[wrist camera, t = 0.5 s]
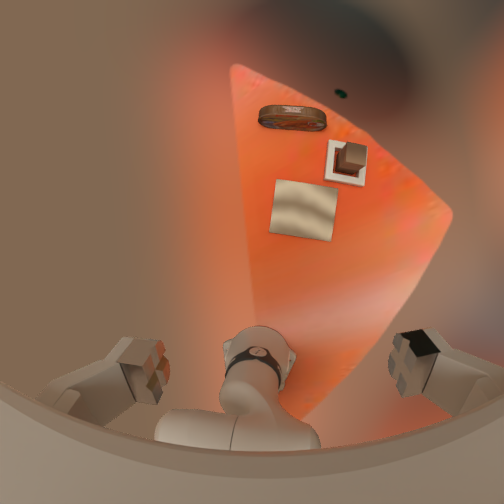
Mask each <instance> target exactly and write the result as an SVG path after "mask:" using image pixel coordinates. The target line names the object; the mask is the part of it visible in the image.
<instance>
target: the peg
mask: <svg viewBox="0 0 504 504" xmlns="http://www.w3.org/2000/svg"><path fill="white" fill-rule="evenodd" d="M366 156H367V146H365V145H360V144H356V143H351V142H347V143H346V144H345V145H344V147H343V148H342V149H341V150H340V152H339V153H338V154H337V158H336V168H335V172H341V173H346V174H351V175H352V174H354V173H355V172H357V171H358V170H360V169H361V168H363V167H365V166H366Z"/></svg>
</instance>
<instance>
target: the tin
mask: <svg viewBox="0 0 504 504" xmlns="http://www.w3.org/2000/svg"><path fill="white" fill-rule="evenodd" d="M258 122H259V123H260V124H261V125H263V126H265V127H268V128H273V129H287V130H301V131H319V130H322V129H324V128H326V126H327V123H326V114H325V113H324V112H323V111H321V110H319V109H316V108H312V107H304V106H290V105H269V106H265V107H263V108H261V109H260V111H259V118H258Z"/></svg>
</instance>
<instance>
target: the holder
mask: <svg viewBox="0 0 504 504" xmlns="http://www.w3.org/2000/svg"><path fill="white" fill-rule="evenodd" d="M345 144H346V143H345V142H339V141H334V140H329V141H328V143H327V151H326V161H325V170H324V179H323V180H325V181H331V182H337V183H342V184H347V185H353V186H358V187H363V186H364V184H365V174H366V166H365V167H363V168H361V169H360V170H358V171H357V172H356V177H351V176H346V175H341V174H335V173H333V163H334V153H335V151H340V150H341V149H342V148H343V147H344V145H345ZM367 149H368V147H367ZM366 163H367V156H366Z"/></svg>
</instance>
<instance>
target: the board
mask: <svg viewBox="0 0 504 504" xmlns="http://www.w3.org/2000/svg"><path fill="white" fill-rule="evenodd" d="M337 196H338V189H337V188H332V187H326V186H320V185H314V184H307V183H301V182H294V181H287V180H280V179H276V186H275V194H274V201H273V209H272V216H271V223H270V230H269V232H271V233H278V234H285V235H291V236H298V237H304V238H311V239H317V240H323V241H330V242H331V238H332V232H333V225H334V218H335V211H336V204H337Z"/></svg>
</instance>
